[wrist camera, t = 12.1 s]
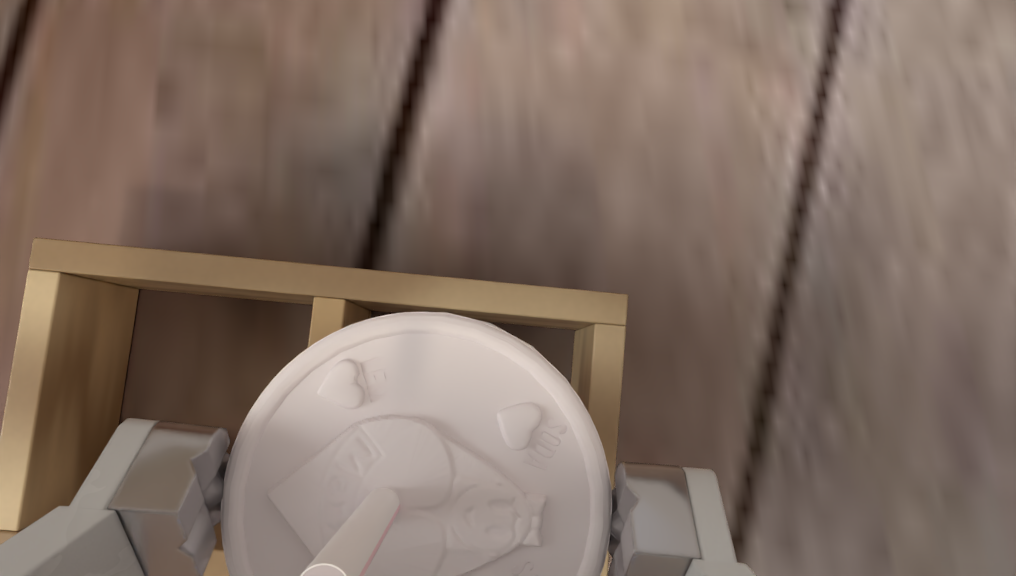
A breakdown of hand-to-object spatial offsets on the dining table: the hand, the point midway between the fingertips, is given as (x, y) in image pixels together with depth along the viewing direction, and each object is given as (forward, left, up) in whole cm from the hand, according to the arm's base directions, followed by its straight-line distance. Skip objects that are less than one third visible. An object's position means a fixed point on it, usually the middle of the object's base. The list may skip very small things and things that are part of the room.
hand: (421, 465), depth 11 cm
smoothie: (0, +1, -10) cm, 10 cm away
